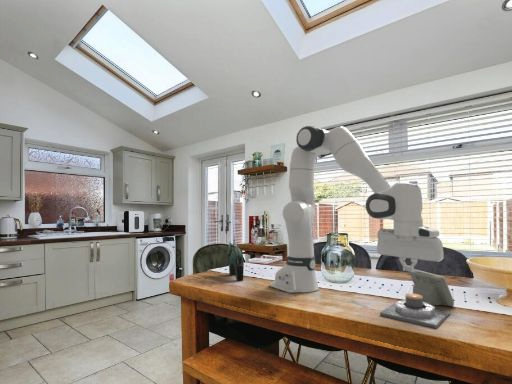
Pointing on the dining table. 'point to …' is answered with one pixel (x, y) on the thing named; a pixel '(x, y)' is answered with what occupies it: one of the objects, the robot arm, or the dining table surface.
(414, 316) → the flat square base plate
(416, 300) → the dark grey cylinder
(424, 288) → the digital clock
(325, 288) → the dining table surface
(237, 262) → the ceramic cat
